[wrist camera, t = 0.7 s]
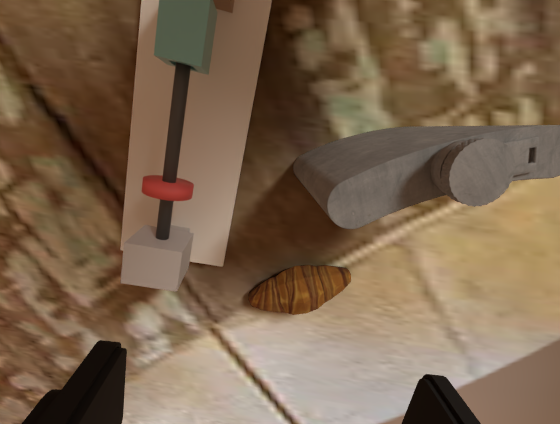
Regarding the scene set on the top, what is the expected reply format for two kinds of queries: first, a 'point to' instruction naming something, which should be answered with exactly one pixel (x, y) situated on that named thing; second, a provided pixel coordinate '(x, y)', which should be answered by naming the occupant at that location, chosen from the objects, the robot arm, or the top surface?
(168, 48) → the sleeve
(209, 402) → the top surface
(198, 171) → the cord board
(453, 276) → the top surface
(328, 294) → the croissant
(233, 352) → the top surface
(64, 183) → the top surface
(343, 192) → the hip flask
